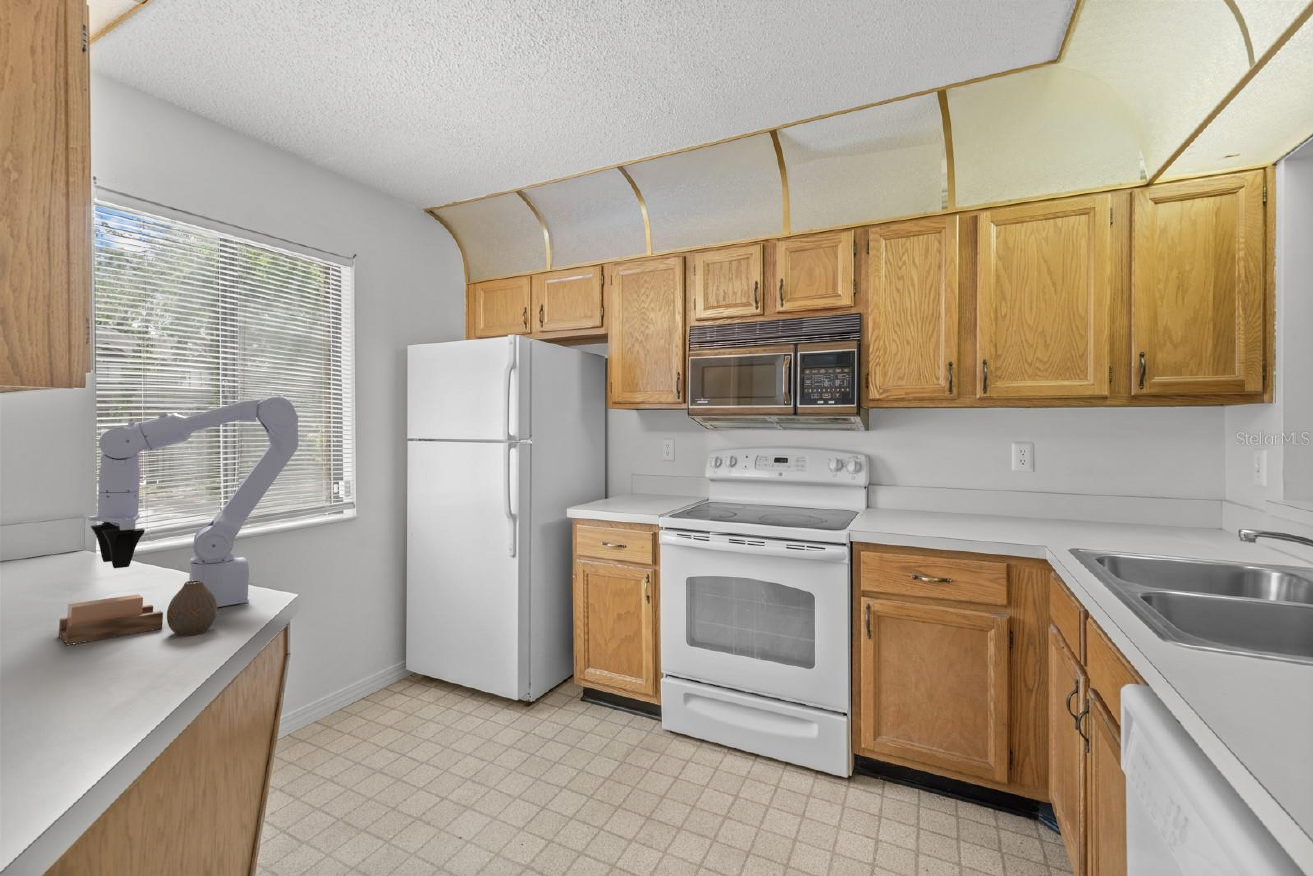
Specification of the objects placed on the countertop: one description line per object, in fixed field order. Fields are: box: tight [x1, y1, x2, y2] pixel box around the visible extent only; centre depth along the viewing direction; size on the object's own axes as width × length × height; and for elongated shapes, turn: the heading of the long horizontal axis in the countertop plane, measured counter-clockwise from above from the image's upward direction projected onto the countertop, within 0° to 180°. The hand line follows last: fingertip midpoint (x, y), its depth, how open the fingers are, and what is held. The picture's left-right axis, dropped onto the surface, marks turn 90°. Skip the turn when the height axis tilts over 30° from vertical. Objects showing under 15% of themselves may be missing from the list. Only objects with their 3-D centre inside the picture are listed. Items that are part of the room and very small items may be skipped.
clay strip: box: [66, 594, 144, 626], centre depth 102 cm, size 9×3×4 cm, turn 143°
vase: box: [166, 580, 218, 636], centre depth 104 cm, size 7×7×9 cm
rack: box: [58, 604, 164, 645], centre depth 102 cm, size 12×7×3 cm, turn 143°
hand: (115, 564), depth 112 cm, fingers open, 7 cm apart
